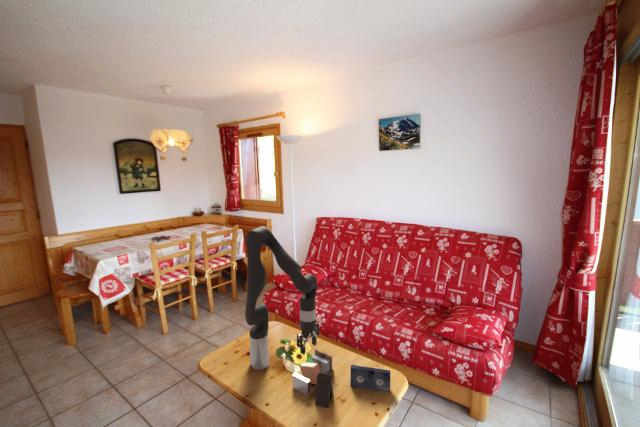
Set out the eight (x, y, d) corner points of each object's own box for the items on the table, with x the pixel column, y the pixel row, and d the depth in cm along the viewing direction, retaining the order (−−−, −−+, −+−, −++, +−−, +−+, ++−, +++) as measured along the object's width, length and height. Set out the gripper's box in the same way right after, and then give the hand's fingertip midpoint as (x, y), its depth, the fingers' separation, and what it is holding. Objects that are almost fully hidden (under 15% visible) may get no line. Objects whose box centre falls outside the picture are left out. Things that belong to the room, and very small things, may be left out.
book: (318, 384, 141) (313, 367, 141) (304, 382, 147) (299, 365, 147) (322, 380, 144) (317, 363, 144) (308, 378, 149) (304, 361, 150)
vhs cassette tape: (390, 389, 141) (390, 370, 139) (390, 394, 138) (390, 374, 137) (351, 382, 146) (351, 363, 144) (350, 386, 143) (350, 367, 142)
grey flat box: (292, 388, 143) (292, 374, 142) (295, 385, 144) (295, 372, 143) (307, 396, 137) (307, 382, 136) (310, 393, 139) (310, 380, 138)
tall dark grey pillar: (290, 389, 142) (290, 369, 141) (316, 366, 158) (316, 348, 157) (309, 399, 136) (308, 379, 134) (334, 374, 152) (333, 356, 150)
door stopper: (328, 408, 131) (327, 383, 129) (314, 405, 132) (314, 380, 131) (333, 393, 139) (333, 369, 137) (321, 390, 141) (320, 367, 139)
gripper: (304, 326, 132) (305, 360, 135) (323, 313, 144) (323, 344, 146) (291, 321, 137) (292, 354, 139) (310, 308, 148) (311, 339, 151)
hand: (308, 349), depth 143 cm, fingers open, 8 cm apart
